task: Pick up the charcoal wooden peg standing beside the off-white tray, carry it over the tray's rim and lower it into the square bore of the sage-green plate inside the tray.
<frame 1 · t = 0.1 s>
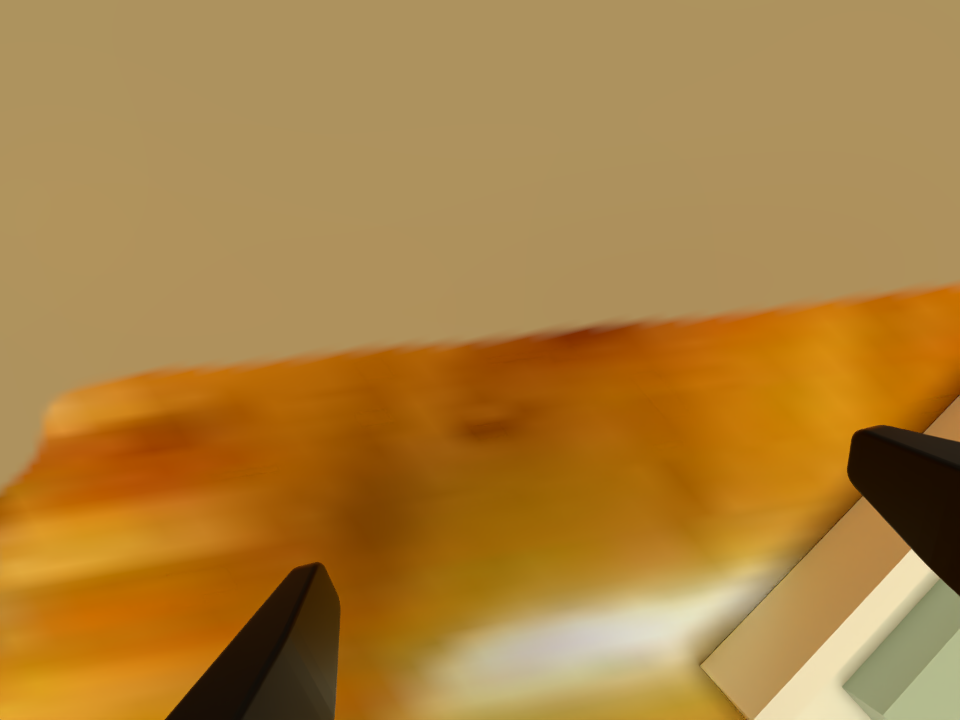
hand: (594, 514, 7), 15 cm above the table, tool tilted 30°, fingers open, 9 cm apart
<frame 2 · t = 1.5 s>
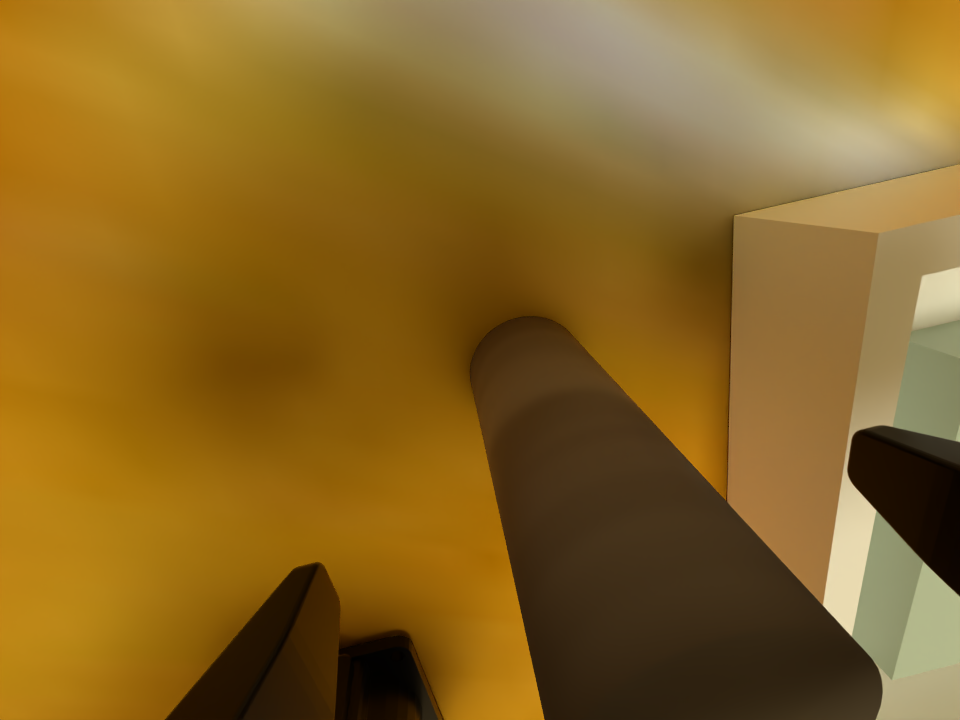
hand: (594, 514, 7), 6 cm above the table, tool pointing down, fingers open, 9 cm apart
peg: (526, 371, 13), on the table
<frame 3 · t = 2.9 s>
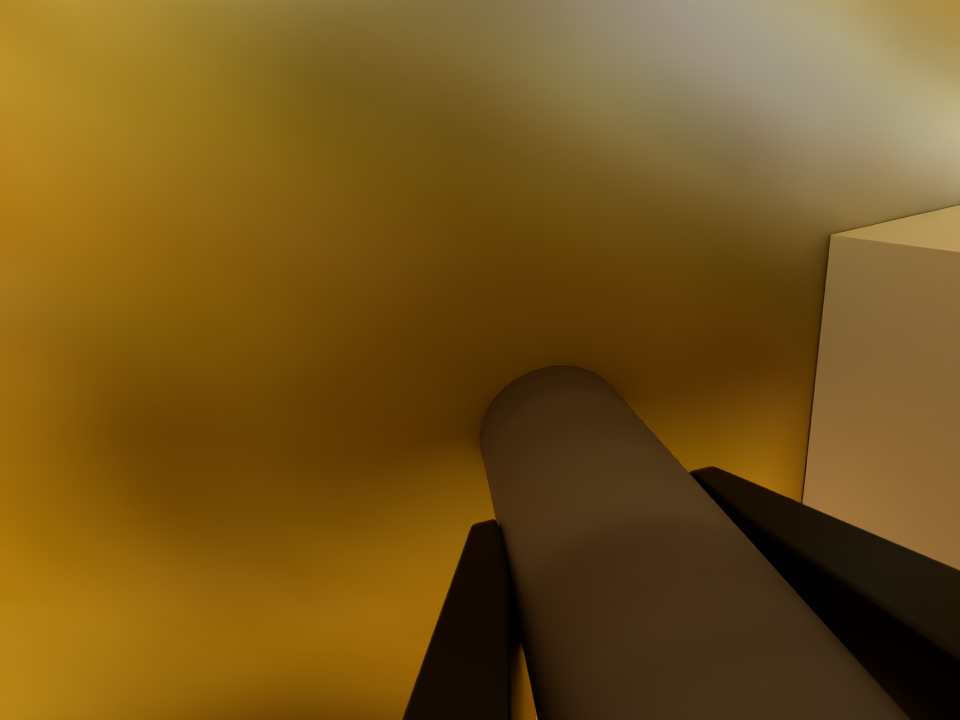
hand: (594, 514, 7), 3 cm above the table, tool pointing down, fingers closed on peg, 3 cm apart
peg: (553, 433, 10), on the table, touching gripper
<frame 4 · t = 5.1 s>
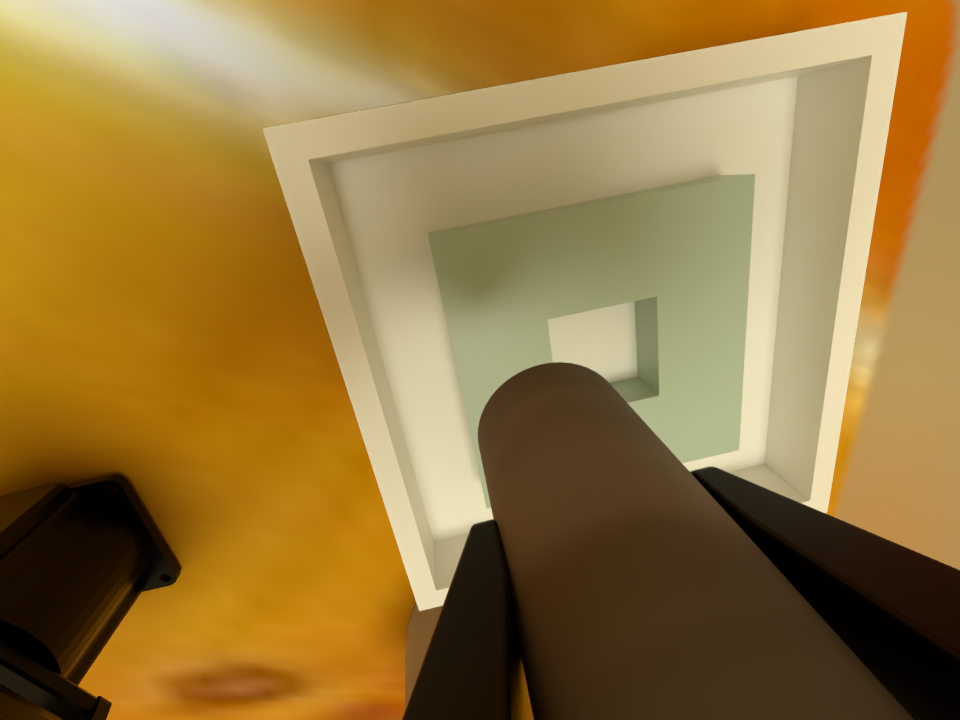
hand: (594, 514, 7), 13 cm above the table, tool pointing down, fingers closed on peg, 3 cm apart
cup: (477, 621, 27), on the table
peg: (551, 430, 10), point 11 cm above the table, touching gripper
tray: (581, 336, 21), on the table
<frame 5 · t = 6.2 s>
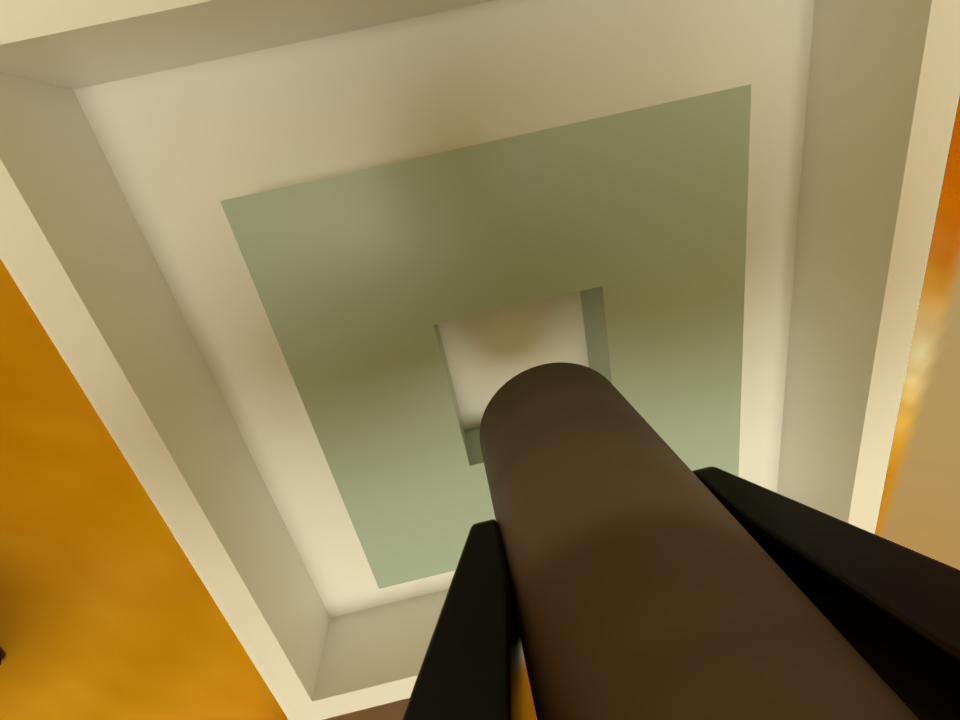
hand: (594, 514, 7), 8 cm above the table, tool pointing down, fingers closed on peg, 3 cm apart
cup: (410, 701, 22), on the table
peg: (552, 430, 10), point 6 cm above the table, touching gripper
tray: (512, 344, 15), on the table
when the fingers open (4 cm above the table, at t = 7.3 s): peg stays where it is, resting on tray.
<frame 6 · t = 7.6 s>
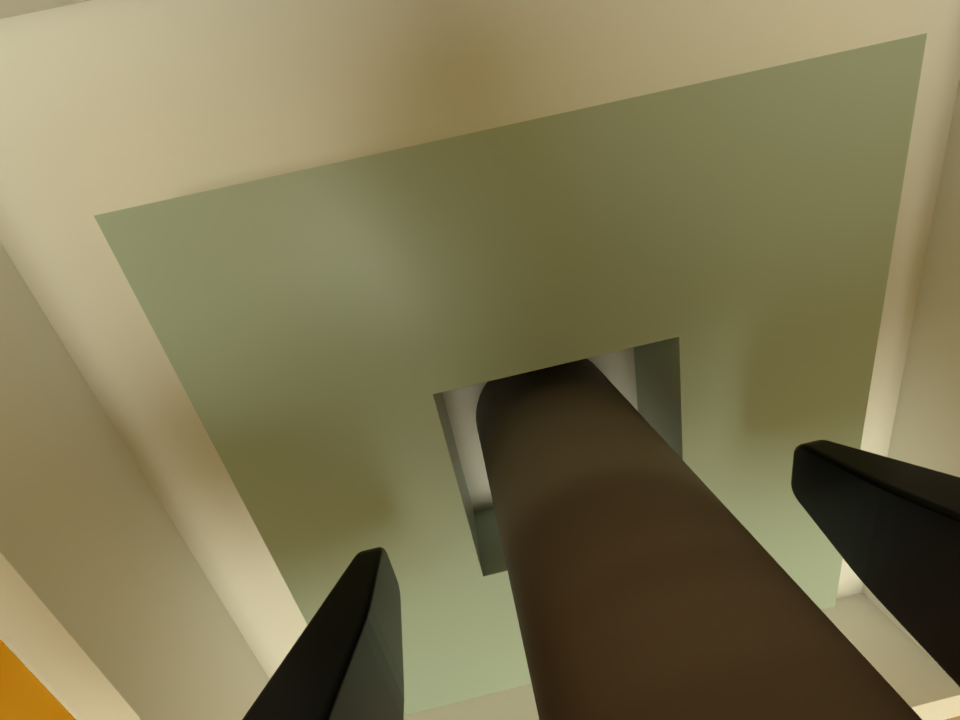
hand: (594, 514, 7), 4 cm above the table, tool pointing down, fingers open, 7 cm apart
peg: (544, 412, 10), point 1 cm above the table, touching tray
tray: (536, 397, 11), on the table
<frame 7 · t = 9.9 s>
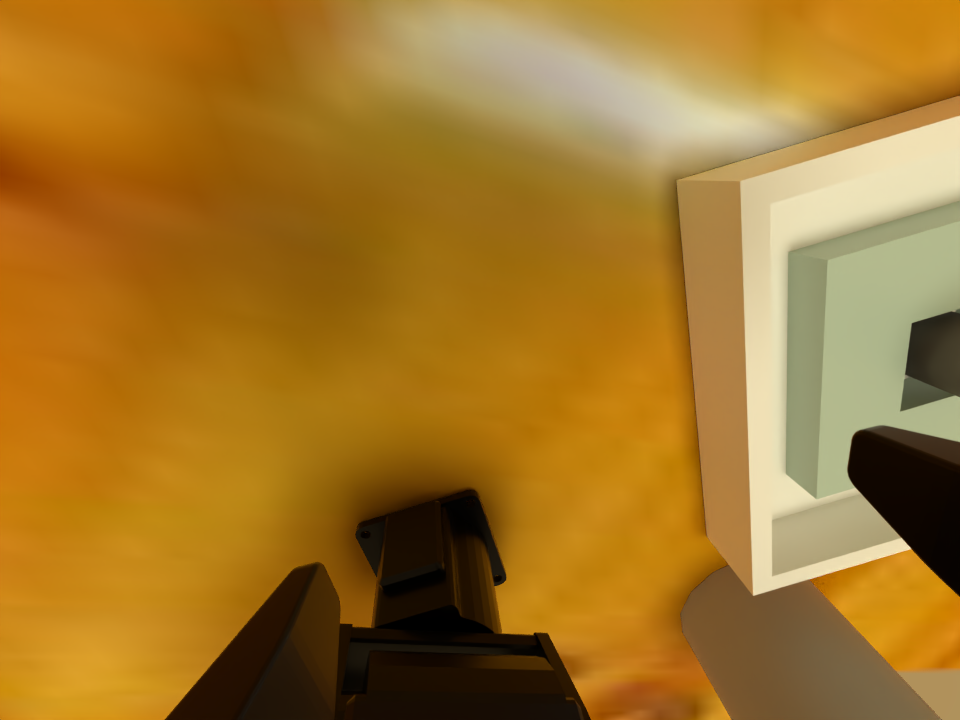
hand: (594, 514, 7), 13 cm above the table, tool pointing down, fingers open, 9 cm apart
cup: (740, 602, 29), on the table
peg: (908, 337, 21), point 1 cm above the table, touching tray
tray: (888, 332, 22), on the table
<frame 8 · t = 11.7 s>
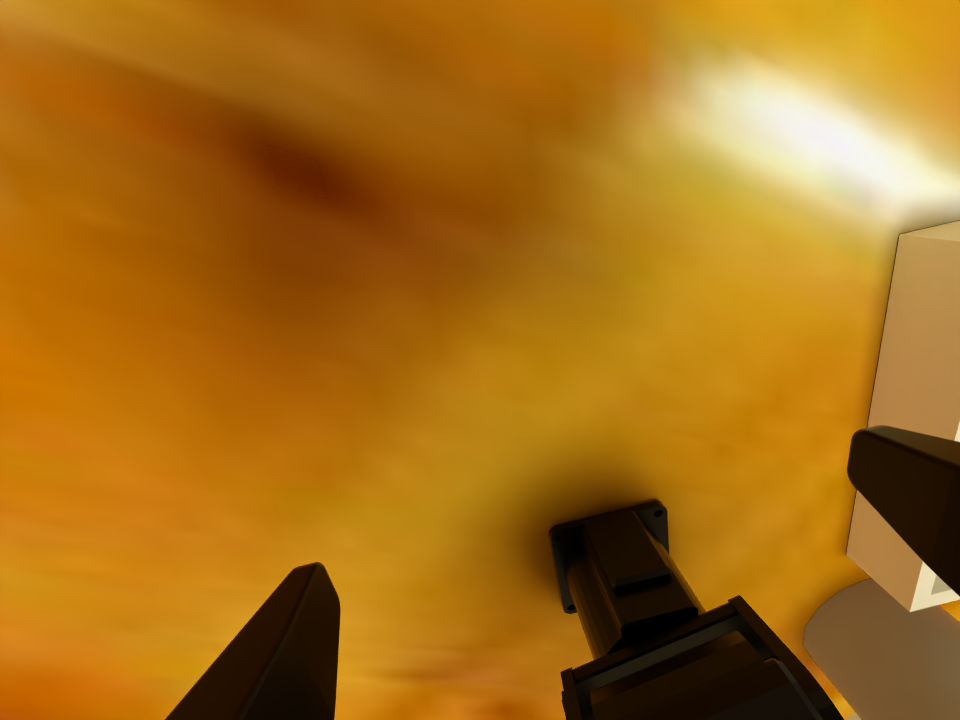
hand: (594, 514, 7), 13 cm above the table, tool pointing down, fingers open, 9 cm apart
cup: (857, 618, 31), on the table
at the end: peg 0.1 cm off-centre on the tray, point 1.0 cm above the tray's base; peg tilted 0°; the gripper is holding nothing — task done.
